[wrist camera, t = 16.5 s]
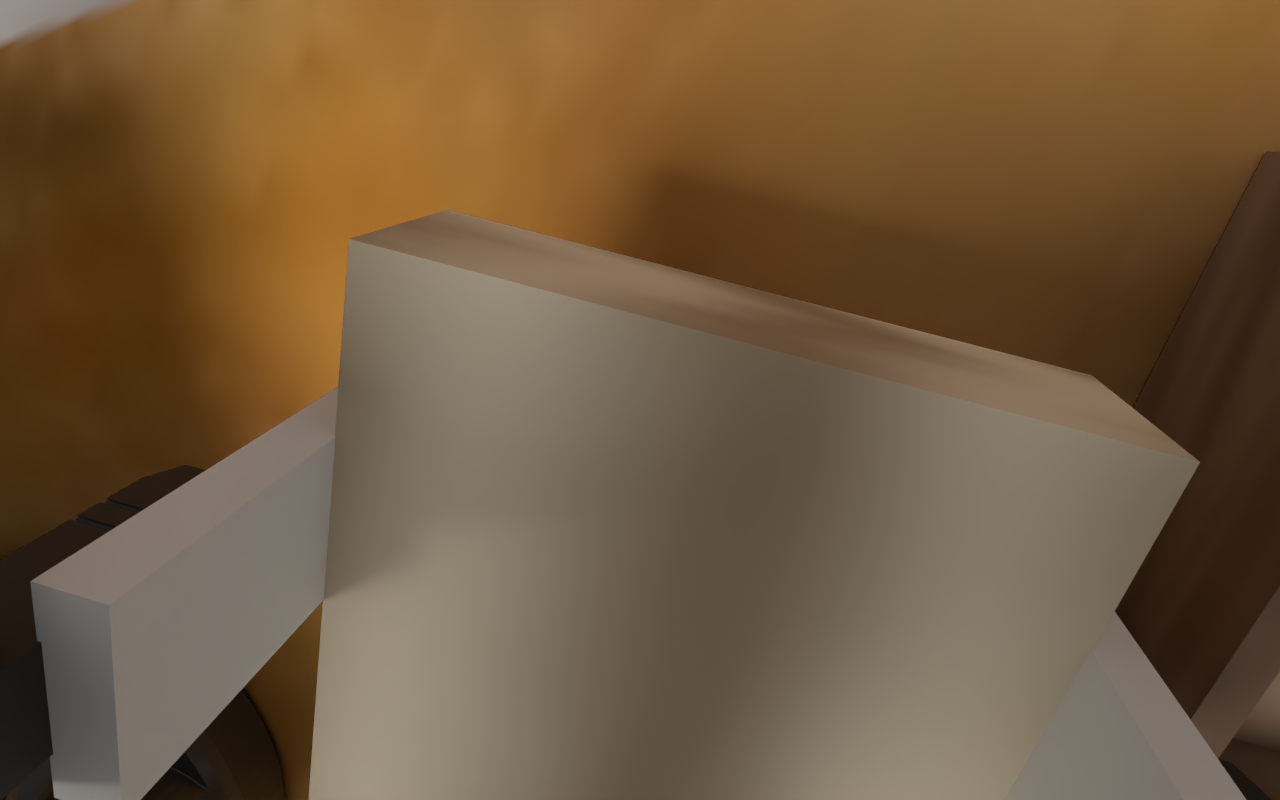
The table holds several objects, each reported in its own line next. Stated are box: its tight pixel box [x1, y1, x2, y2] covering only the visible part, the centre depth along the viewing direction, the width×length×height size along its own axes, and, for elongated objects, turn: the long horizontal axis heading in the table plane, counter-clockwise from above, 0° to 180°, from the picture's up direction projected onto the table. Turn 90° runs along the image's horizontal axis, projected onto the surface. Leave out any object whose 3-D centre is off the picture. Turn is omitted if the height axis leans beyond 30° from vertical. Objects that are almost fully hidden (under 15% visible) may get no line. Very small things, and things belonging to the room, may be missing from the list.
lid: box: [308, 210, 1200, 800], centre depth 13 cm, size 10×15×3 cm, turn 167°
